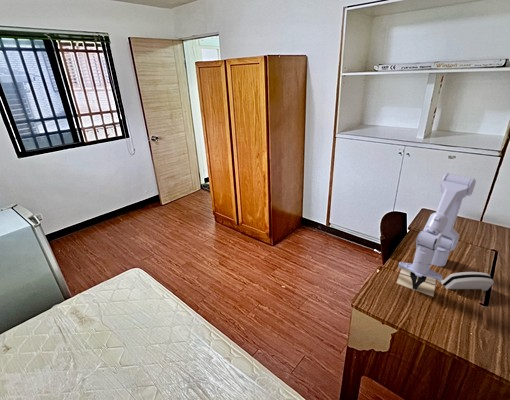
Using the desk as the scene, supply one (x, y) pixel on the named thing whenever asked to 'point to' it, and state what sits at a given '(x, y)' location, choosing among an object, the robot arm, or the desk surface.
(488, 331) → the desk surface
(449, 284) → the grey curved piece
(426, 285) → the board
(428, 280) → the laid board
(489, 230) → the desk surface
